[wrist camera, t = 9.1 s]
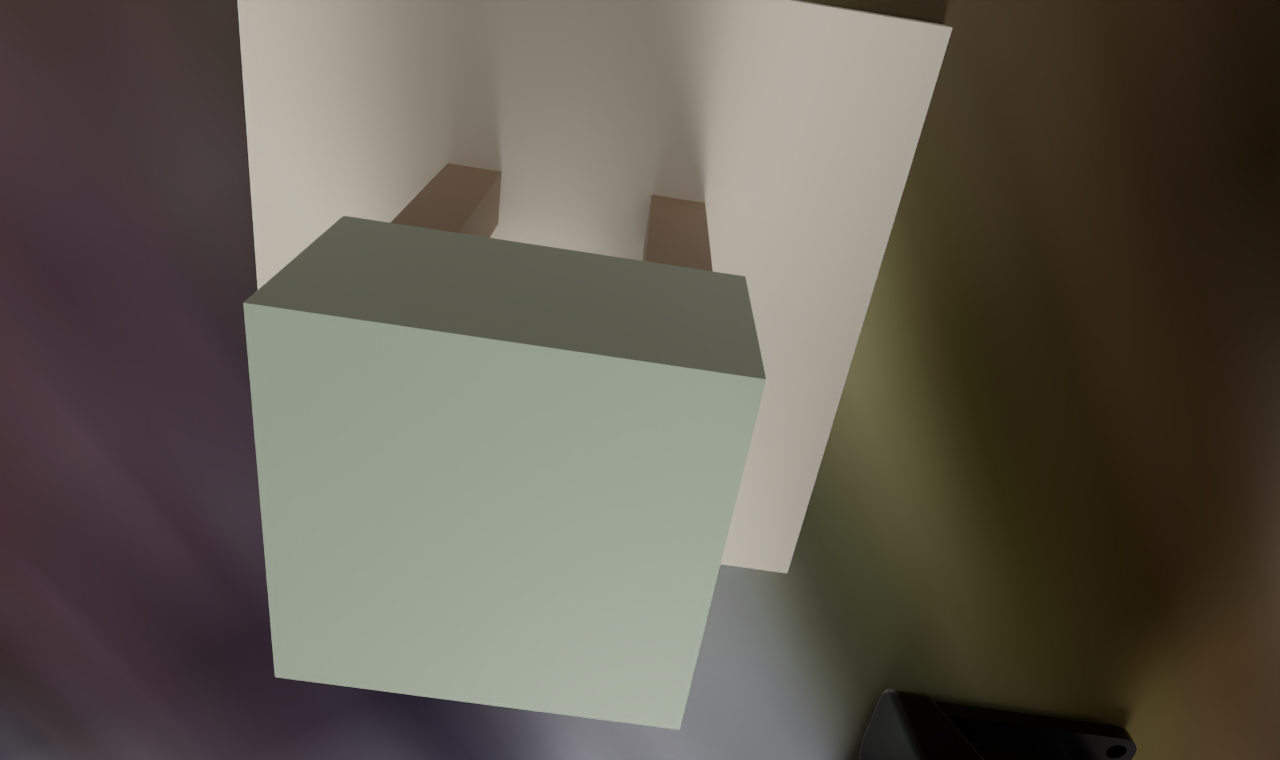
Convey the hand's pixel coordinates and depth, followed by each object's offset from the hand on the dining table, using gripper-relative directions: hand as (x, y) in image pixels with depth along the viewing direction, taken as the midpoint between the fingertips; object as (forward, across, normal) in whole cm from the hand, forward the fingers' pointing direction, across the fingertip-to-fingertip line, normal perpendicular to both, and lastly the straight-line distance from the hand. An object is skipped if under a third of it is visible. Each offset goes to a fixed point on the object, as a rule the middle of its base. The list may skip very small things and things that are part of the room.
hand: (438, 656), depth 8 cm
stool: (+9, 0, 0) cm, 9 cm away
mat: (+10, 0, 0) cm, 10 cm away
